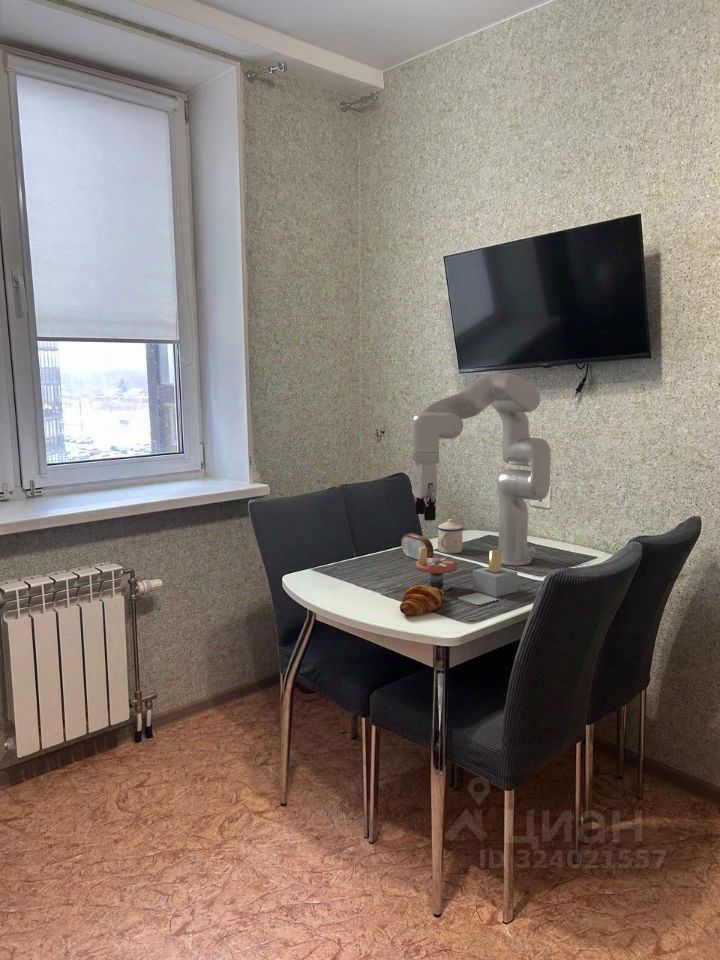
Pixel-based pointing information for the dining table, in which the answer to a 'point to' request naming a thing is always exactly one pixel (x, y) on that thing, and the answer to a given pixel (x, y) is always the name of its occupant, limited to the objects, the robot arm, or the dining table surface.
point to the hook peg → (495, 561)
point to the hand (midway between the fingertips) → (425, 516)
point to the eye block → (494, 581)
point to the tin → (415, 545)
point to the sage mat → (477, 598)
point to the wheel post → (438, 582)
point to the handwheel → (434, 563)
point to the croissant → (421, 600)
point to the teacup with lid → (450, 537)
